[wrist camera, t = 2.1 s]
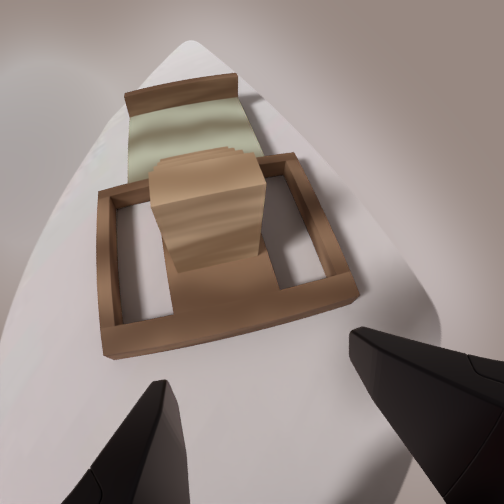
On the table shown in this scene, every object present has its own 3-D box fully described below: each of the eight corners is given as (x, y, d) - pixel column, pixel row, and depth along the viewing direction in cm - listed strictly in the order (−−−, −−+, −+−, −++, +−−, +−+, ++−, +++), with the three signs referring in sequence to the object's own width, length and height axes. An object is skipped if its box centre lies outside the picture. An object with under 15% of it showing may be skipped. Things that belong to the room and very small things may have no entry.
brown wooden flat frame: (351, 303, 23) (375, 278, 18) (114, 359, 20) (84, 347, 15) (258, 103, 35) (260, 70, 30) (111, 131, 32) (100, 100, 27)
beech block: (257, 255, 22) (266, 183, 15) (177, 273, 21) (150, 207, 14) (228, 162, 27) (226, 88, 20) (163, 174, 26) (146, 103, 19)
